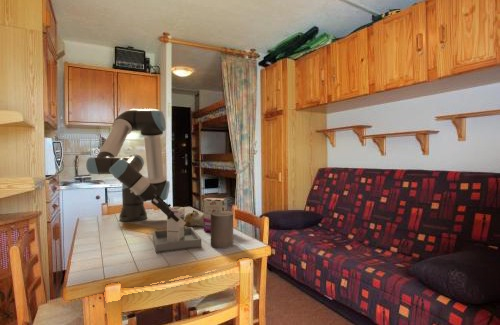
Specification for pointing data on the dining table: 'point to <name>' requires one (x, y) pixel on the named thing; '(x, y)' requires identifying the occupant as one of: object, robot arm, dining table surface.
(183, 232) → the syrup box
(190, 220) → the ceramic sculpture
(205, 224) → the candy bar box
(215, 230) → the pillar candle
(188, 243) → the tray
